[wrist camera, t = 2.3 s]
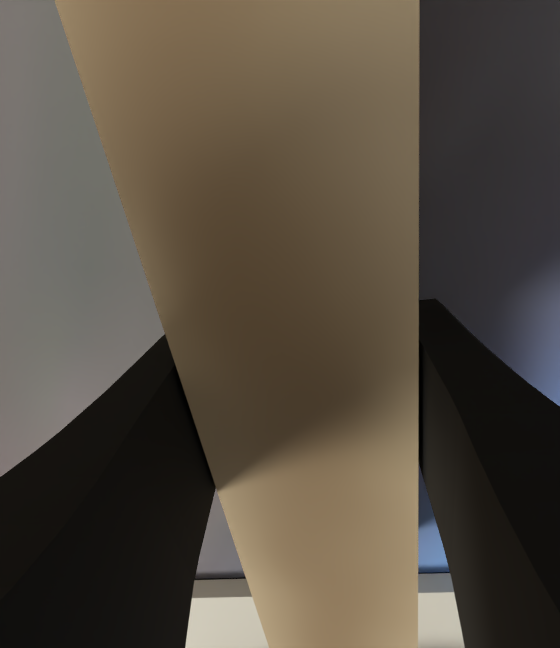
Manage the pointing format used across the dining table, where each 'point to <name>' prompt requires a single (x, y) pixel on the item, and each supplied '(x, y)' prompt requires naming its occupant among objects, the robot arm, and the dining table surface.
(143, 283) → the dining table surface
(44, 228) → the dining table surface
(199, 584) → the board
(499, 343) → the dining table surface
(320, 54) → the bar
